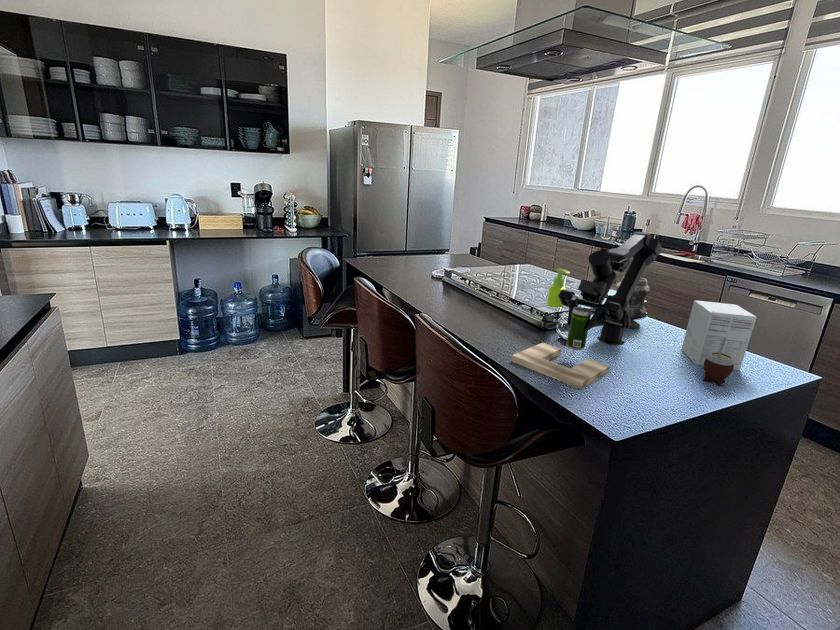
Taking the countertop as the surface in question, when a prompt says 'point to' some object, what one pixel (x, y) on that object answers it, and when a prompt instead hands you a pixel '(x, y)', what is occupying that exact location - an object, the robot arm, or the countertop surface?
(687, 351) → the supplement box
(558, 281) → the soap dispenser
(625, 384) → the countertop surface
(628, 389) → the countertop surface
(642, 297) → the carved stone vase
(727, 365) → the mate gourd
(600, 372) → the tan u-shaped bracket
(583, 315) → the green drink can
